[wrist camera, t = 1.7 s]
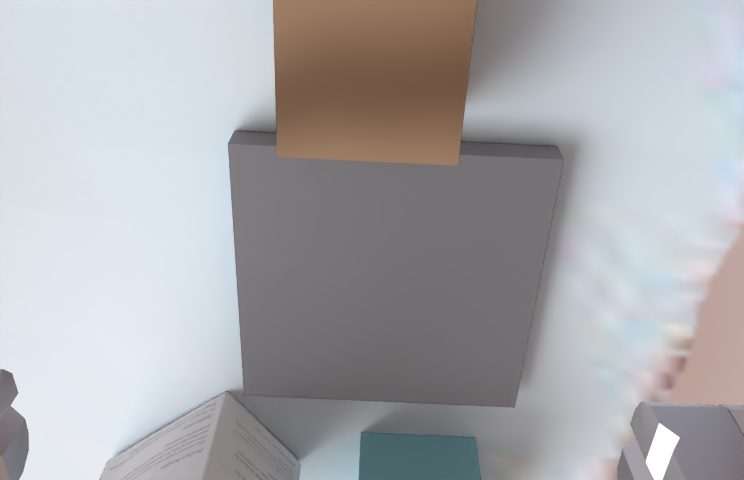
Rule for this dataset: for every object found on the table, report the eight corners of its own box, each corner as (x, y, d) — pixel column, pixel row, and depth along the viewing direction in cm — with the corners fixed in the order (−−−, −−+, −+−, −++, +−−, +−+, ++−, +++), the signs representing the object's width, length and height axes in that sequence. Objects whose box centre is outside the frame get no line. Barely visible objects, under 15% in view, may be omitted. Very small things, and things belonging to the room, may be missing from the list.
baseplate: (234, 130, 26) (227, 143, 25) (556, 146, 26) (563, 159, 25) (248, 377, 33) (244, 395, 32) (510, 388, 33) (514, 407, 32)
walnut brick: (292, -63, 23) (271, -35, 19) (462, -54, 23) (480, -24, 19) (294, 100, 26) (277, 156, 22) (445, 107, 26) (457, 165, 22)
